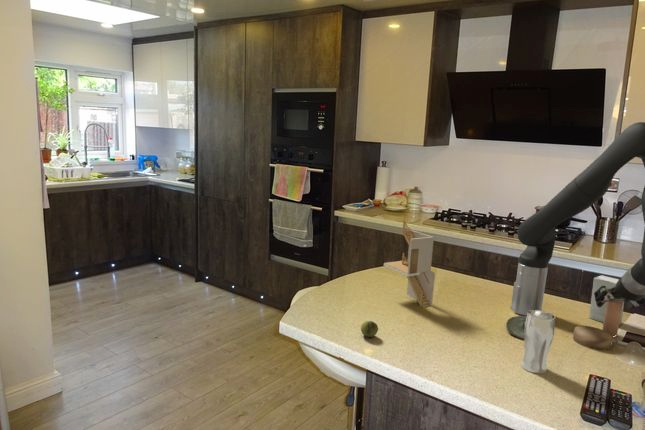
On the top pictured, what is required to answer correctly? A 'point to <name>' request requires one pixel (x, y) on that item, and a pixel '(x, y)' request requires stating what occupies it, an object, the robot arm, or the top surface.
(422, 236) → the staircase
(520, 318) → the lid
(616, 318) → the pink drinking glass
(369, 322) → the lime
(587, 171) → the robot arm
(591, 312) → the skincare box
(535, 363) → the beer glass
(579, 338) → the base
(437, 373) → the top surface
